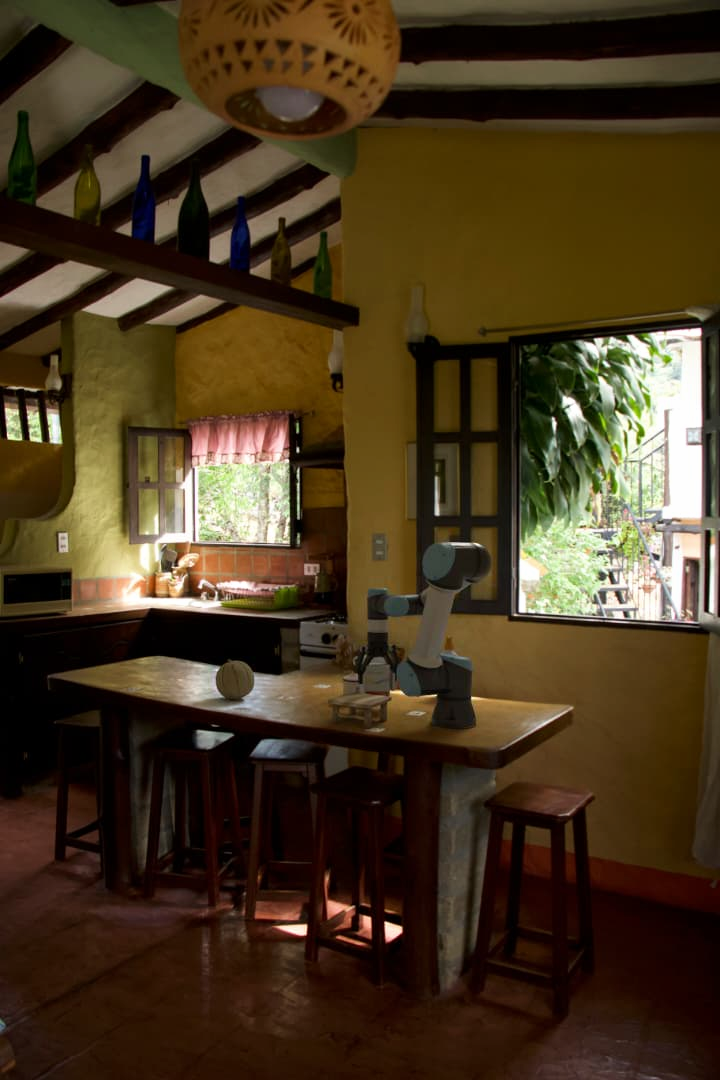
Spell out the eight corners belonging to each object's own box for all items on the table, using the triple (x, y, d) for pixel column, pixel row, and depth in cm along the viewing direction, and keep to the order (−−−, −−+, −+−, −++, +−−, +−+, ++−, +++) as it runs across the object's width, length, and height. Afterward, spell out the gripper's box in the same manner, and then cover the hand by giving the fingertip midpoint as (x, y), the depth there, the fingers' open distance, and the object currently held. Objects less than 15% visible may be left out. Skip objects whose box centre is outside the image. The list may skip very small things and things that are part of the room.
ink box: (387, 699, 313) (387, 665, 313) (363, 698, 315) (364, 665, 315) (390, 695, 322) (390, 662, 322) (367, 694, 323) (367, 661, 323)
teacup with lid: (355, 705, 327) (355, 673, 327) (337, 701, 333) (337, 670, 333) (376, 700, 336) (377, 670, 336) (358, 697, 342) (359, 667, 342)
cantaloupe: (252, 703, 327) (252, 663, 326) (212, 702, 326) (212, 662, 326) (256, 695, 341) (257, 656, 341) (218, 695, 341) (219, 656, 341)
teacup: (353, 676, 386) (353, 654, 386) (387, 677, 386) (387, 654, 386) (351, 681, 374) (352, 658, 374) (387, 682, 374) (387, 659, 374)
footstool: (391, 720, 303) (391, 696, 303) (370, 729, 289) (370, 705, 289) (350, 714, 311) (350, 692, 311) (327, 723, 297) (328, 699, 296)
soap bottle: (436, 698, 342) (437, 637, 342) (437, 693, 352) (438, 634, 351) (458, 699, 341) (459, 637, 340) (459, 694, 350) (460, 634, 350)
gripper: (400, 628, 327) (400, 687, 327) (343, 631, 316) (343, 692, 316) (411, 630, 320) (411, 690, 320) (353, 633, 309) (352, 695, 309)
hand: (377, 691), depth 318 cm, fingers closed on ink box, 11 cm apart
